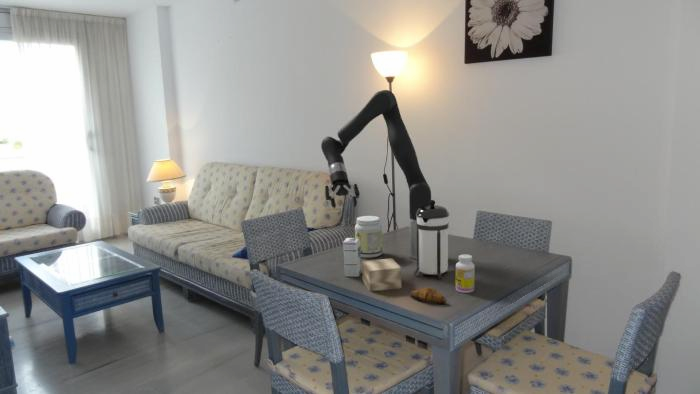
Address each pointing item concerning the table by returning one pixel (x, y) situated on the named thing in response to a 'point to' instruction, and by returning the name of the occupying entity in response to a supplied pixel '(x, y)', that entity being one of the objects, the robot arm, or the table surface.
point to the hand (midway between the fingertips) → (344, 206)
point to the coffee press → (432, 240)
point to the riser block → (381, 274)
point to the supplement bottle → (465, 274)
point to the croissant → (428, 295)
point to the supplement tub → (369, 236)
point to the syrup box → (352, 257)
